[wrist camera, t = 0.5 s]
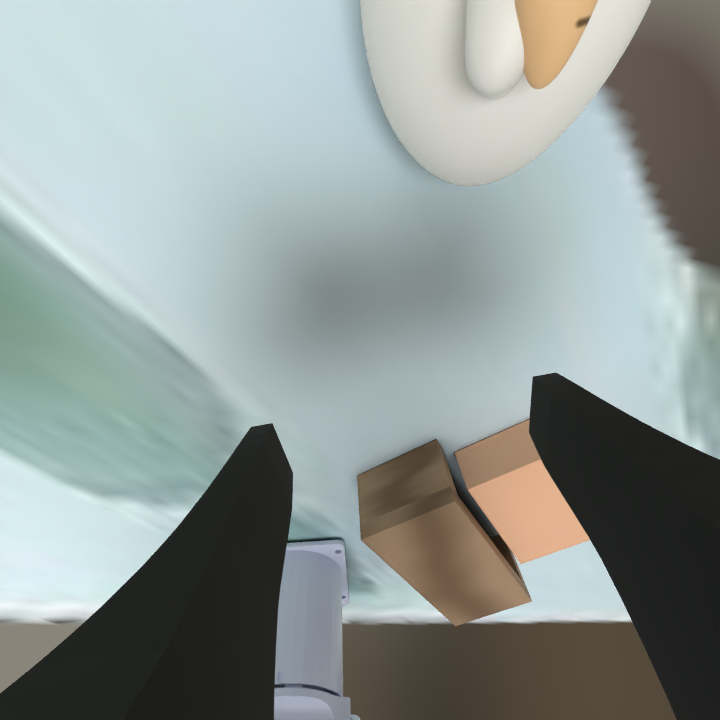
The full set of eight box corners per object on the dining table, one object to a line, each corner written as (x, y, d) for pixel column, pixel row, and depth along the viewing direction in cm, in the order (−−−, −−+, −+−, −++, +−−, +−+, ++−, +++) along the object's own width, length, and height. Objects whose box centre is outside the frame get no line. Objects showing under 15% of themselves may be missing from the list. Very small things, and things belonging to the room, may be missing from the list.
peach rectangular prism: (557, 406, 24) (583, 441, 21) (593, 492, 29) (618, 529, 26) (454, 452, 26) (467, 489, 23) (505, 526, 30) (521, 564, 28)
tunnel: (436, 439, 25) (455, 501, 21) (507, 539, 31) (531, 601, 27) (357, 475, 26) (361, 540, 22) (440, 564, 33) (455, 625, 29)
